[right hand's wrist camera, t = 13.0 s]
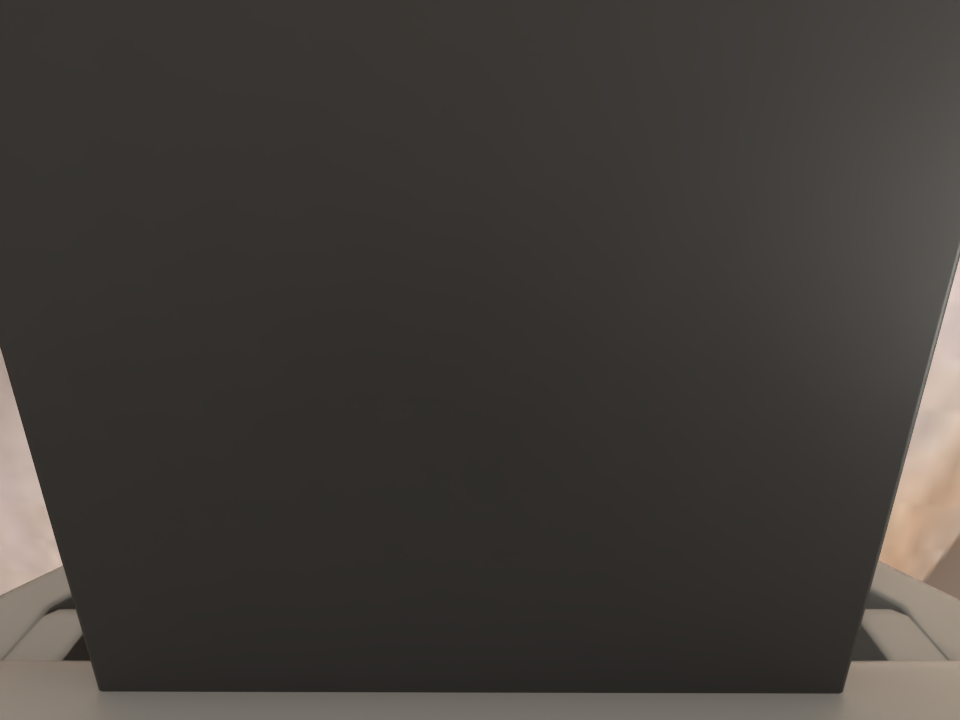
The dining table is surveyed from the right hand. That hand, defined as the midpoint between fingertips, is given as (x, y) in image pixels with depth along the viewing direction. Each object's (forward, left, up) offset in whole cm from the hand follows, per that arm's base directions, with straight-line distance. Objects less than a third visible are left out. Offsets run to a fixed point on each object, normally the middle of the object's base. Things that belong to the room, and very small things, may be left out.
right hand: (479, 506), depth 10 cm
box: (+8, -1, -7) cm, 10 cm away
